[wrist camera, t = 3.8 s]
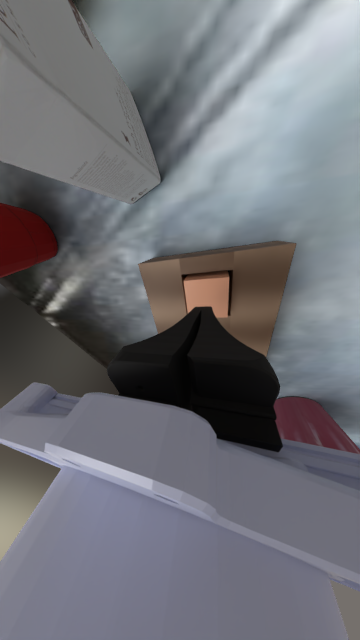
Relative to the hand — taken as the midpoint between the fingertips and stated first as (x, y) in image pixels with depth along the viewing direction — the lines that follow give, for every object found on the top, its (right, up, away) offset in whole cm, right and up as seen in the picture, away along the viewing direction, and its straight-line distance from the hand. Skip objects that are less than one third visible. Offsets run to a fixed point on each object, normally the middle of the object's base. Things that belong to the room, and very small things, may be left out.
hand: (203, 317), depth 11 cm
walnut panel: (+3, 0, +9) cm, 10 cm away
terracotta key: (+2, +4, +6) cm, 7 cm away
